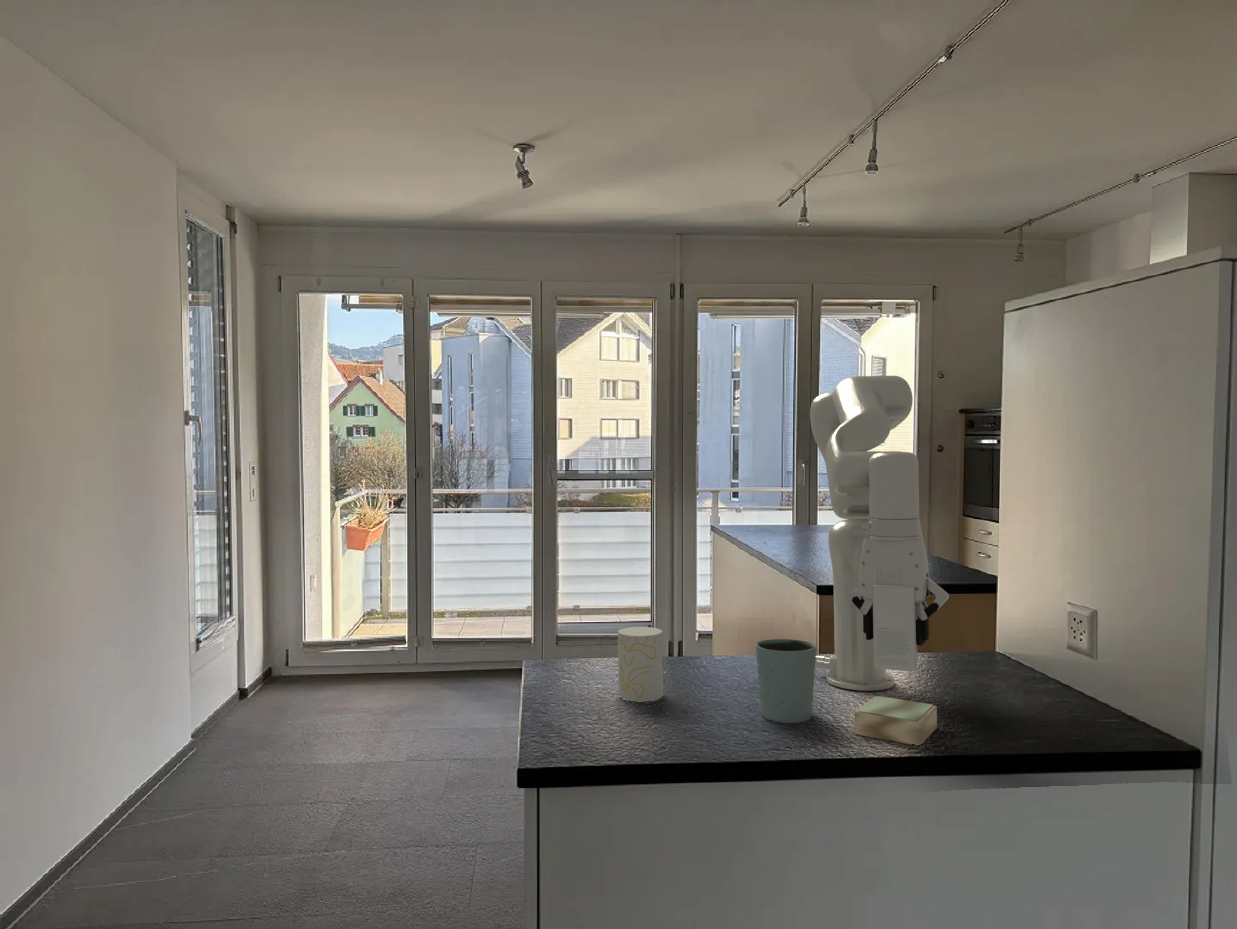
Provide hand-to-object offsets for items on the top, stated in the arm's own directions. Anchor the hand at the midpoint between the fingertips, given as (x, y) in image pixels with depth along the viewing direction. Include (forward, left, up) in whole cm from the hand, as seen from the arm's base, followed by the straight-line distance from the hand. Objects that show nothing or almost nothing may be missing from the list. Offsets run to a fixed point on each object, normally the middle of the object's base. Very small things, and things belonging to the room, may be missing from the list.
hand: (895, 640), depth 131 cm
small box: (0, 0, -4) cm, 4 cm away
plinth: (0, 0, -14) cm, 14 cm away
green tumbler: (-18, -1, -15) cm, 23 cm away
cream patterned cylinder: (-45, -5, -15) cm, 48 cm away
